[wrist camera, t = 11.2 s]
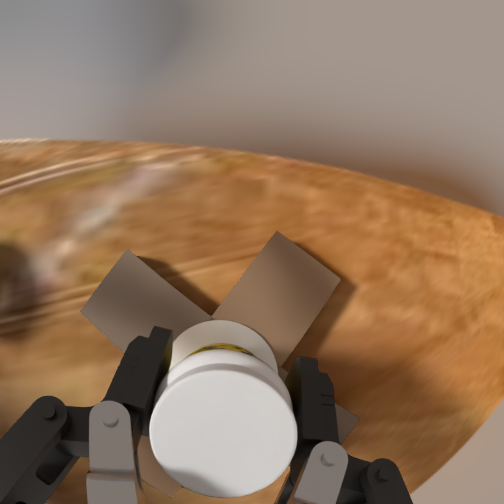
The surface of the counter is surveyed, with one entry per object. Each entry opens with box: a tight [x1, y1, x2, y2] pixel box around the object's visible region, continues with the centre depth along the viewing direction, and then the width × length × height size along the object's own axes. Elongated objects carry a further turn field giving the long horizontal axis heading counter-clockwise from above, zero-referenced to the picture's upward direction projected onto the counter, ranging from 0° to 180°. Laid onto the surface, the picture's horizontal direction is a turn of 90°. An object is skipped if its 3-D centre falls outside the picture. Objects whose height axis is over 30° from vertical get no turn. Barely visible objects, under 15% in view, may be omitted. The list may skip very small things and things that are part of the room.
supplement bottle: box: [149, 343, 297, 498], centre depth 11 cm, size 5×5×8 cm
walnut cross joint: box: [80, 231, 360, 498], centre depth 18 cm, size 18×18×2 cm
